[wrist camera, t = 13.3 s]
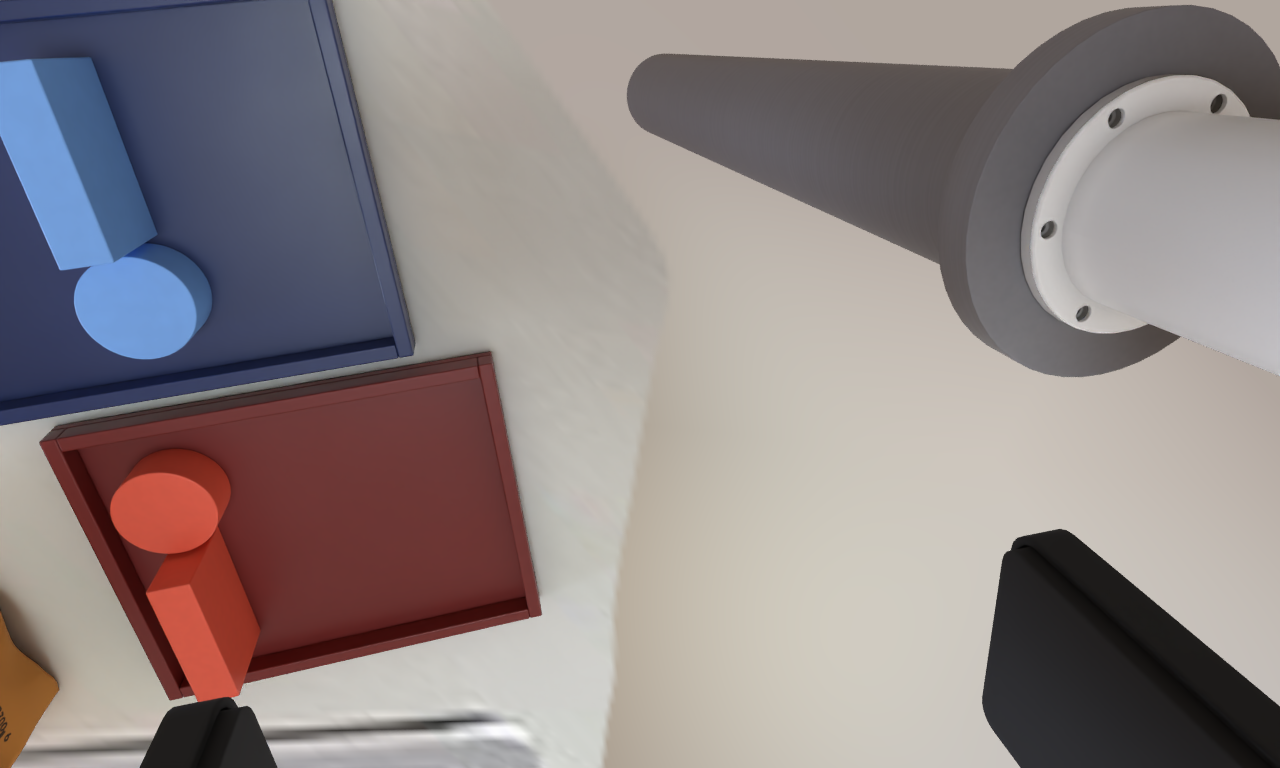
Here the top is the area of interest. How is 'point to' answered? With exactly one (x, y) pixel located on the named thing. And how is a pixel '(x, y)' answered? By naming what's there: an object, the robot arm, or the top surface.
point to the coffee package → (20, 697)
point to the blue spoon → (97, 210)
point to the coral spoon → (190, 566)
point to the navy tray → (209, 201)
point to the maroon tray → (330, 511)
